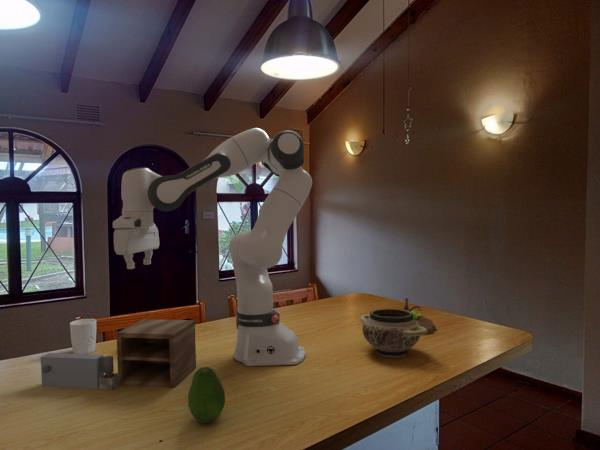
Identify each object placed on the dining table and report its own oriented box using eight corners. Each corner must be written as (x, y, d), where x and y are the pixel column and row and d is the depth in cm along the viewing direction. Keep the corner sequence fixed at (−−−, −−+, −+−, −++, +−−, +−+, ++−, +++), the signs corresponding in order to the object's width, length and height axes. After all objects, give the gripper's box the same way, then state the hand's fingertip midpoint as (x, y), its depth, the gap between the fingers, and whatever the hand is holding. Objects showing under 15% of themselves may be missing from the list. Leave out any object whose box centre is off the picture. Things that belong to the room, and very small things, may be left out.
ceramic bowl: (437, 368, 130) (444, 318, 132) (398, 366, 120) (406, 312, 122) (378, 347, 150) (385, 304, 152) (340, 344, 140) (348, 298, 142)
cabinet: (196, 367, 126) (194, 320, 126) (169, 393, 109) (167, 338, 109) (135, 365, 129) (133, 318, 129) (99, 389, 112) (97, 336, 112)
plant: (433, 322, 172) (433, 294, 171) (436, 337, 153) (435, 305, 152) (382, 320, 177) (382, 293, 176) (378, 334, 158) (378, 303, 157)
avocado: (181, 426, 92) (179, 371, 92) (202, 410, 100) (200, 359, 99) (213, 433, 89) (212, 376, 89) (232, 415, 97) (231, 362, 96)
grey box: (38, 388, 114) (37, 358, 114) (50, 382, 118) (48, 353, 118) (107, 391, 111) (106, 360, 111) (116, 384, 115) (115, 355, 115)
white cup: (102, 348, 145) (101, 319, 145) (84, 356, 138) (82, 325, 138) (84, 346, 148) (83, 317, 148) (65, 354, 141) (63, 323, 140)
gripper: (145, 220, 142) (146, 262, 143) (108, 222, 122) (110, 271, 123) (163, 220, 141) (164, 262, 142) (129, 222, 121) (131, 271, 122)
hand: (139, 266), depth 132 cm, fingers open, 8 cm apart
